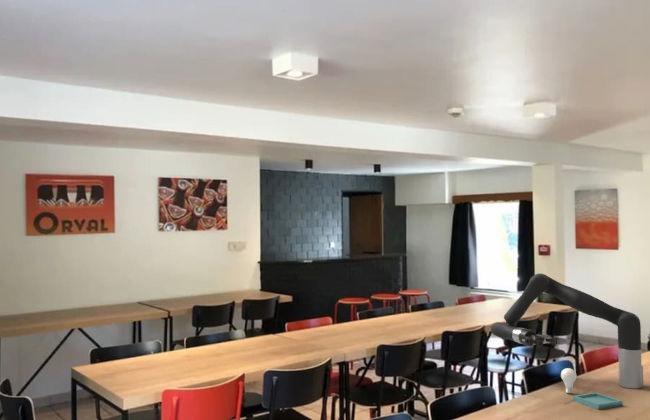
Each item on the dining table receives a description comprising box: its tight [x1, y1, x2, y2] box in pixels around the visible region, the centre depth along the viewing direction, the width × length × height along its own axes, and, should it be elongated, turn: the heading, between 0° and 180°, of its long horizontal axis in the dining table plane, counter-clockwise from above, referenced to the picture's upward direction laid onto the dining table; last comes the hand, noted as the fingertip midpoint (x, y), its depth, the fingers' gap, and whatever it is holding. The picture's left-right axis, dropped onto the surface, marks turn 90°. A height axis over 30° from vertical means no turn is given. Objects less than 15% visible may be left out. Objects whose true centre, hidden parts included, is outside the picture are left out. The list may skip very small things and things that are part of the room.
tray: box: [572, 392, 623, 410], centre depth 233 cm, size 13×13×2 cm
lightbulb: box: [560, 367, 578, 395], centre depth 247 cm, size 6×6×11 cm
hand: (549, 342), depth 257 cm, fingers open, 8 cm apart
